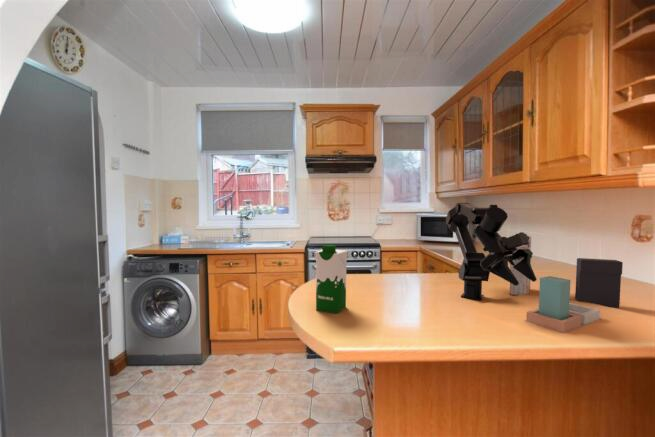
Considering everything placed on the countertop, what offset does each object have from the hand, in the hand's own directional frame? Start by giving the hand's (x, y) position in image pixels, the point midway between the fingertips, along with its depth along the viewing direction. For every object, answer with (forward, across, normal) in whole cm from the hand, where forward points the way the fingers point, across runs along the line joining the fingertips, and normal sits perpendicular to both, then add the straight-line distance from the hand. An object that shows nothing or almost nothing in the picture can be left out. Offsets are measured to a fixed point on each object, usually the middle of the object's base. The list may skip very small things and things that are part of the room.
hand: (526, 282), depth 93 cm
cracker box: (-4, +28, +19) cm, 34 cm away
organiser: (+12, +5, +2) cm, 14 cm away
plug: (+12, 0, +1) cm, 12 cm away
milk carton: (-17, -44, +32) cm, 57 cm away
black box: (+11, +34, +4) cm, 36 cm away
